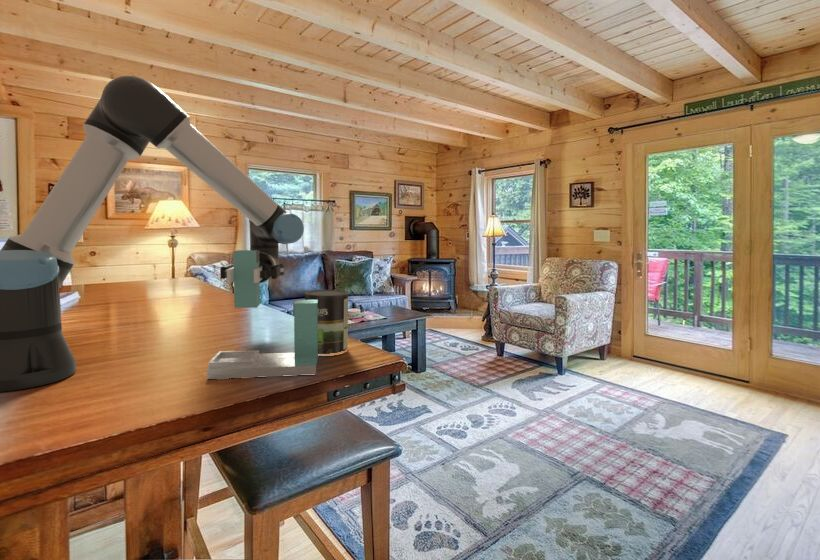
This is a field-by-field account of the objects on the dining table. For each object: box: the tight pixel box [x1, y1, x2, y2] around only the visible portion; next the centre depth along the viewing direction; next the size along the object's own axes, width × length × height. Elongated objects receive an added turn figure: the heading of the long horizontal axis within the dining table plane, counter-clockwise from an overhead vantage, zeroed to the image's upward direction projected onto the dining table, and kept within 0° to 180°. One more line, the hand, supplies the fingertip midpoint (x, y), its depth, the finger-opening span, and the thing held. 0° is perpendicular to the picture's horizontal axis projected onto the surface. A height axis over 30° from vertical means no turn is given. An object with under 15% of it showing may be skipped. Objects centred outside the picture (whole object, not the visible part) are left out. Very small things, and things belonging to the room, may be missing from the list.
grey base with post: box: [206, 299, 319, 380], centre depth 87 cm, size 20×10×14 cm, turn 101°
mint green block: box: [232, 249, 261, 309], centre depth 93 cm, size 4×4×12 cm
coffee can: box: [303, 289, 350, 354], centre depth 102 cm, size 10×10×14 cm
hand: (242, 276), depth 88 cm, fingers closed on mint green block, 4 cm apart
